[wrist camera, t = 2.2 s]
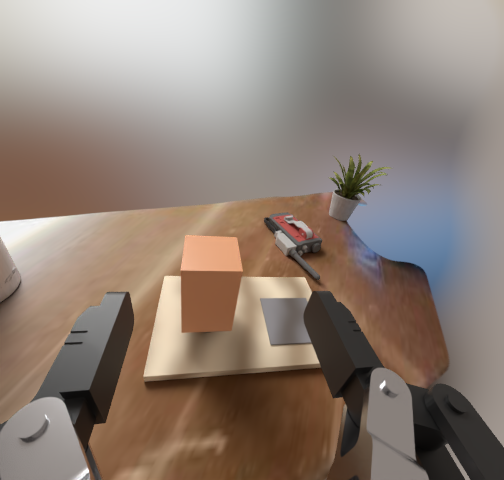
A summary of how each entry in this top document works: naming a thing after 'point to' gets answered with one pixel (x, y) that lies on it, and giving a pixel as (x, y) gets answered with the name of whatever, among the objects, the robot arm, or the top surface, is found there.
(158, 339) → the post stand
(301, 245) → the walkie-talkie
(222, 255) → the tall salmon pillar
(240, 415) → the top surface
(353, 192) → the house plant
